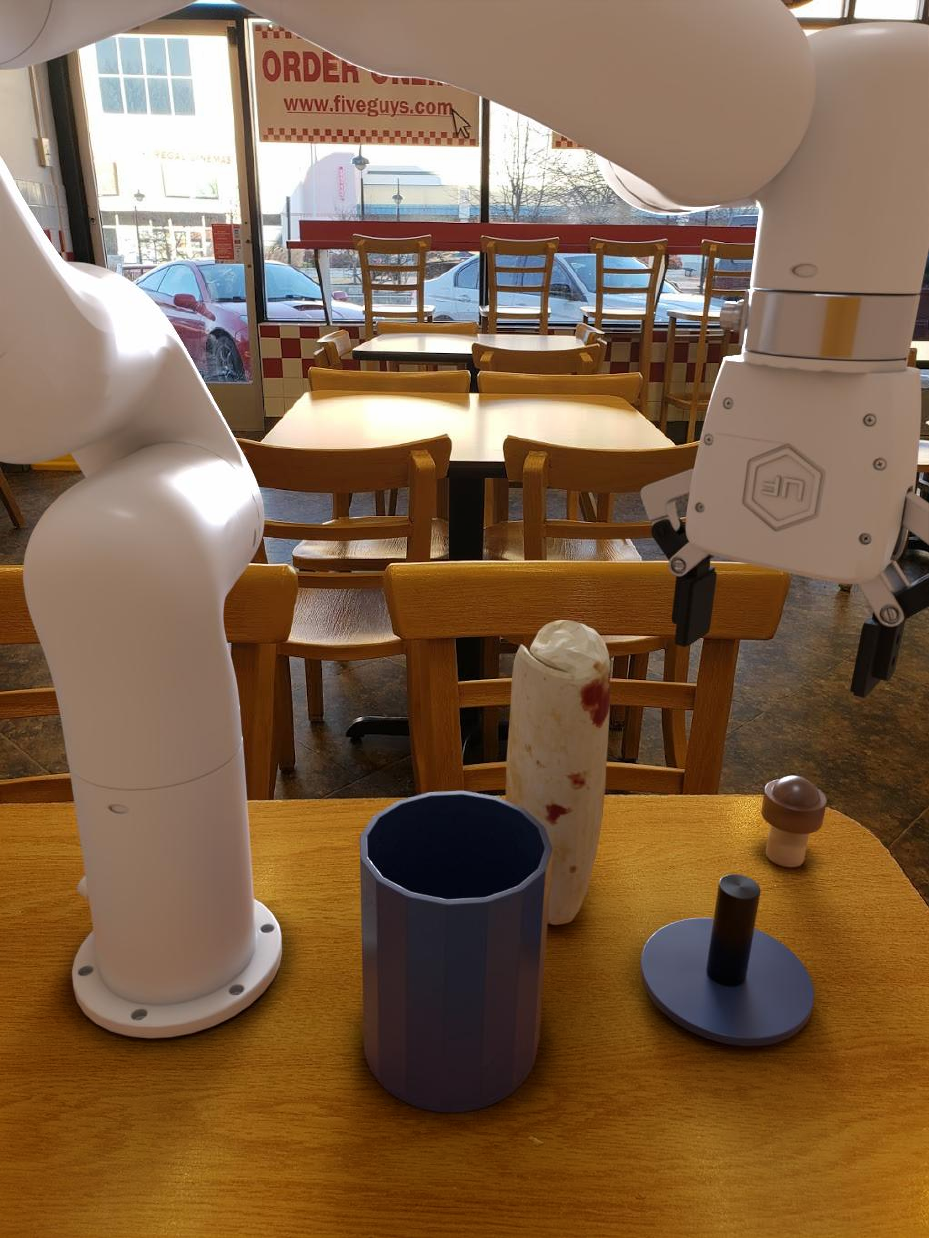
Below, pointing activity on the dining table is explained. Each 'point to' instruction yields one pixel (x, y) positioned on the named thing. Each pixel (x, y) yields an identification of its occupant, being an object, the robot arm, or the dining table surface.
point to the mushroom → (791, 818)
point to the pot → (453, 947)
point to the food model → (561, 751)
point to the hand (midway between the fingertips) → (774, 662)
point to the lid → (728, 973)
